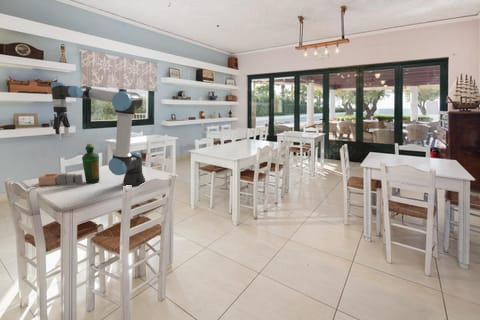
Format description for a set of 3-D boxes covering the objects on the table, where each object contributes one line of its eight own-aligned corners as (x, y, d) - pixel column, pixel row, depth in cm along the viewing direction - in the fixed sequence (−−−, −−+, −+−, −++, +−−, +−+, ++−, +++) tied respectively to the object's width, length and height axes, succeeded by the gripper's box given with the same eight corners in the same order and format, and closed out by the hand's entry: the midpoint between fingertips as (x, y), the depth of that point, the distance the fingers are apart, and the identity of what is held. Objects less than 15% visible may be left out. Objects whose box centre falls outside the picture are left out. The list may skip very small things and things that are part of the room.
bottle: (101, 183, 196) (98, 144, 191) (84, 185, 191) (80, 145, 186) (100, 179, 205) (97, 143, 200) (84, 181, 200) (80, 143, 195)
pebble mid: (76, 182, 197) (75, 173, 196) (73, 184, 193) (72, 175, 192) (69, 182, 197) (68, 173, 195) (66, 184, 193) (65, 175, 191)
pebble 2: (82, 182, 198) (82, 174, 197) (81, 183, 195) (81, 175, 193) (76, 182, 197) (75, 174, 196) (75, 184, 193) (74, 175, 192)
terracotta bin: (61, 181, 199) (60, 173, 198) (55, 185, 189) (54, 176, 188) (46, 181, 197) (45, 173, 196) (39, 185, 187) (38, 177, 186)
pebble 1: (68, 182, 196) (67, 173, 195) (66, 184, 192) (64, 174, 191) (61, 182, 196) (60, 173, 194) (59, 184, 191) (57, 174, 190)
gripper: (61, 106, 192) (64, 135, 196) (44, 106, 168) (48, 140, 172) (73, 106, 194) (75, 135, 198) (57, 106, 170) (61, 140, 174)
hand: (63, 137), depth 185 cm, fingers open, 13 cm apart
